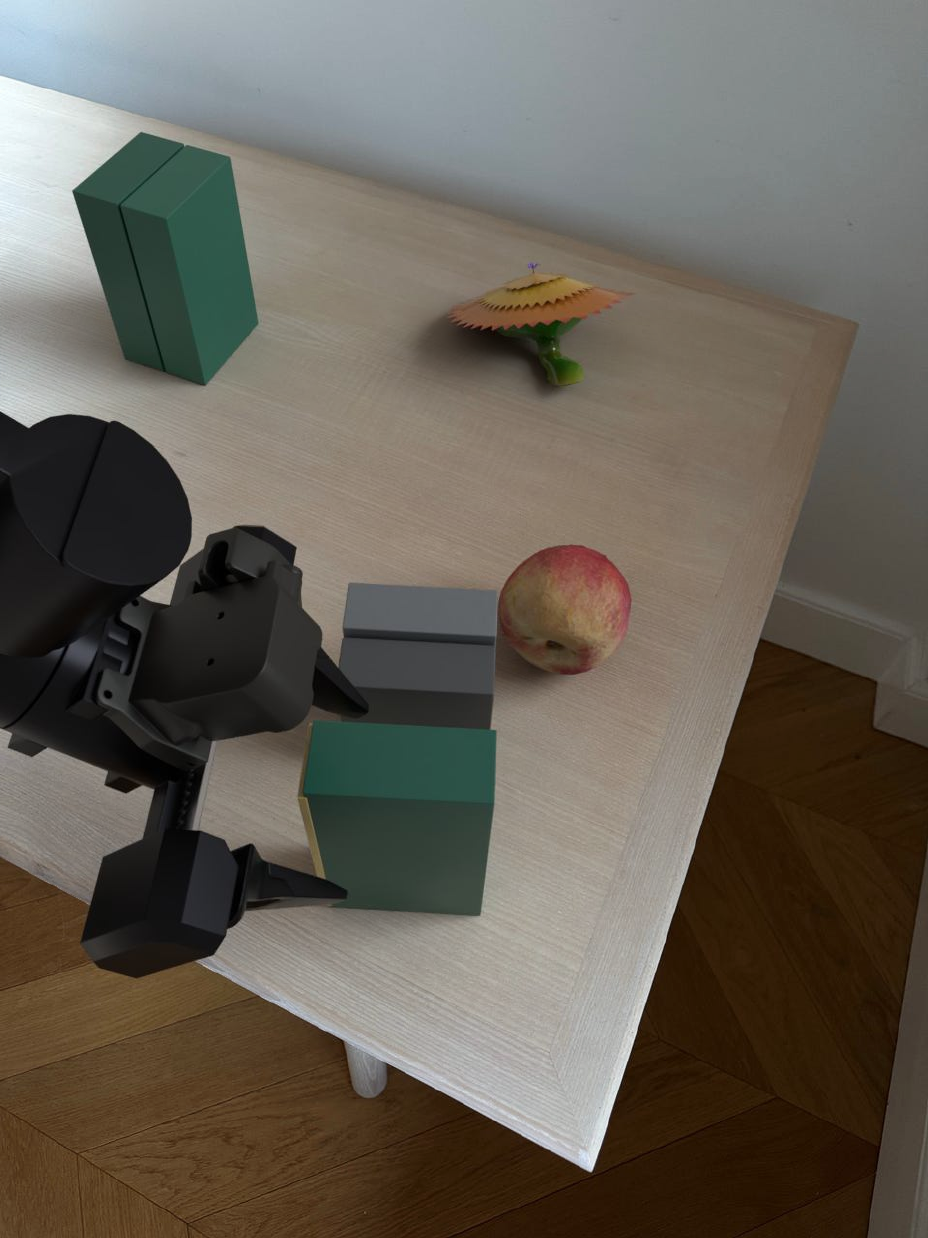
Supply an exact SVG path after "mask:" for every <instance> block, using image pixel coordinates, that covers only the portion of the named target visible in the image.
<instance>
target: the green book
mask: <svg viewBox="0 0 928 1238" xmlns="http://www.w3.org/2000/svg"><path fill="white" fill-rule="evenodd" d="M497 733H498V731H497V729H491V730H485V729H467V728H448V727H430V726H412V725H393V724H375V723H356V722H341V721H339V720H338V721H336V720H319V719H318V720H317V719H314V720H313V721H312V722H310V723H308V726H307V732H306V738H305V745H304V750H303V751H304V752H303V757H302V758H303V759H302V764H301V771H300V778H299V784H298V791H297V797H296V798H297V802H298V806H299V810H300V814H301V818H302V823H303V826H304V830H305V835H306V838H307V842H308V847H309V850H310V854H311V858H312V862H313V866H314V870H315V874H316V876H317V877H320V878H323V879H326V880H329V881H331V882H333V883H335V884H336V885H338V886H340V887H342V888H344V889H346V890H347V891H348V897H347V900H345V901H342V902H339V903H335V904H329V905H324V906H328V907H330V908H333V909H334V908H335V909H338V908H339V909H353V910H354V909H355V910H372V911H388V912H390V911H391V912H406V913H407V912H408V913H424V914H426V913H428V914H443V915H444V914H445V915H461V916H462V915H463V916H481V915H482V909H483V908H482V907H483V899H484V891H485V884H486V874H487V868H488V859H489V852H490V850H489V849H490V843H491V836H492V835H491V834H492V828H493V827H492V826H493V818H494V811H495V810H494V809H495V802H496V801H495V800H496V798H495V797H496V767H497V738H498V737H497V735H498V734H497Z"/></svg>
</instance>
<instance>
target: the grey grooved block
mask: <svg viewBox="0 0 928 1238" xmlns="http://www.w3.org/2000/svg"><path fill="white" fill-rule="evenodd" d="M498 602H499V591H498V590H494V589H474V588H459V587H458V588H457V587H442V586H441V587H438V586H437V587H436V586H421V585H401V584H384V583H364V582H348V585H347V592H346V599H345V606H344V613H343V621H342V634H343V635H342V636H343V638H342V639H341V644H340V652H339V660H338V666H337V667H338V668H339V669H340V670H341V672H342V673H343V674H344V675H345V676H346V678H347V679H348V680H349V681H350V682H351V684H352V685H353V686H354V687H355V688H356V690H357V691H358V692H359V693H360V694H361V696H362V697H363V698H364V699H365V700H366V702H367V703H368V704H369V713H368V714H366V715H364V716H362V717H360V718H358V719H353V718H349V717H345V716H342V715H339V717H340V722H356V723H375V724H393V725H412V726H430V727H448V728H467V729H485V730H492V719H493V712H494V711H493V709H494V700H495V684H496V683H495V681H496V655H497V654H496V653H497V652H496V651H497V648H496V647H497V631H498Z"/></svg>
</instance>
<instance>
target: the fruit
mask: <svg viewBox="0 0 928 1238" xmlns="http://www.w3.org/2000/svg"><path fill="white" fill-rule="evenodd" d="M631 608H632V594H631V589H630V585H629V583H628V581H627V580H626V578H625V577H624V575H623V574H622V573H621V572H620V570H619V568H618V567H617V566H616V565H615V564H614V563H613V561H611V560H610V559H609V558H608V557H607V555H606V554H603V553H601V552H600V551H597V550H595V549H592V548H590V547H587V546H585V545H581V544H573V543H572V544H558V545H555V546H549V547H545V548H543V549H540V550H538V551H537V552H535V553H533V554H531V555H530V556H529V557H527V558H526V559H524V560H523V561H522V562H521V563H520V564H518V566H517V567H516V568H515V569H514V570H513V571H512V573H510V574H509V576H508V577H507V579H506V581H505V582H504V584H503V587H502V588H501V591H500V594H499V596H498V608H497V620H498V622H499V625H500V629H501V631H502V634H503V636H504V638H505V640H506V641H507V642H508V644H509V645H510V646H511V647H512V649H514V650H515V652H517V653H518V654H519V655H520V656H521V657H522V658H523V659H524V660H525V661H526V662H527V663H529V664H530V665H533V666H535V667H536V668H539V669H541V670H545V671H547V672H549V673H551V674H555V675H563V676H575V675H581V674H583V673H587V672H590V671H591V670H594V669H595V668H597V667H599V666H600V665H602V664H604V663H605V662H606V661H608V660H609V659H610V658H612V656H613V655H614V654H615V653H616V651H617V650H618V649H619V647H620V645H621V644H622V642H623V641H624V639H625V638H626V635H627V632H628V628H629V621H630V614H631Z"/></svg>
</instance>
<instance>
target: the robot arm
mask: <svg viewBox="0 0 928 1238" xmlns="http://www.w3.org/2000/svg"><path fill="white" fill-rule="evenodd" d="M190 507H191V506H190V503H189V498H188V496H187V493H186V491H185V489H184V487H183V484H182V482H181V480H180V478H179V476H178V475H177V473H176V472H175V471H174V469H173V467H172V466H171V464H170V463H169V461H168V460H167V459H166V458H165V456H164V455H163V454H162V453H161V452H160V451H159V450H158V449H157V448H156V446H154V445H153V444H152V443H151V442H149V441H148V440H147V439H146V438H145V437H143V435H141V434H139V432H137V431H136V430H134V429H133V428H130V427H129V426H128V425H126V424H124V423H122V422H120V421H118V420H110V421H107V420H104V419H101V418H98V417H95V416H91V415H84V414H74V413H65V414H60V415H52V416H49V417H46V418H44V419H42V420H40V421H38V422H36V423H34V424H32V425H31V426H29V427H28V426H26V424H25V425H24V424H23V423H21V422H20V421H18V420H16V419H14V418H13V417H11V416H9V415H8V414H6V413H5V412H3V411H1V410H0V729H1V730H3V731H5V732H7V733H10V734H11V736H10V738H9V742H8V744H7V749H10V750H12V751H15V752H17V753H20V754H23V755H25V756H27V757H30V758H33V757H35V756H36V755H38V754H40V753H41V752H44V751H45V750H47V749H50V750H53V751H56V752H58V753H61V754H63V755H65V756H67V757H71V758H73V759H75V760H78V761H81V762H83V763H86V764H88V765H91V766H93V767H95V768H97V769H100V770H103V771H105V772H106V773H107V774H106V777H105V779H104V784H103V785H104V787H107V788H110V789H112V790H115V791H117V792H120V793H122V794H125V795H127V794H129V793H131V792H132V791H135V790H136V789H138V788H140V787H142V786H143V787H145V788H149V789H151V790H153V794H152V796H151V802H150V806H149V810H148V815H147V818H146V822H145V826H144V830H143V835H142V838H141V839H139V840H136V841H134V842H132V843H130V844H127V845H125V846H124V847H121V848H118V849H117V850H114V851H112V852H110V853H108V854H105V855H104V856H102V858H101V863H100V867H99V869H98V872H97V877H96V880H95V885H94V888H93V892H92V896H91V900H90V904H89V907H88V911H87V916H86V918H85V922H84V927H83V930H82V934H81V938H80V941H79V945H80V946H81V947H82V949H83V950H84V951H85V954H87V956H88V957H89V959H90V960H91V962H93V964H94V965H95V966H97V968H98V969H99V970H104V971H107V972H111V973H115V974H118V975H122V976H126V977H130V978H133V979H140V978H143V977H146V976H151V975H153V974H156V973H159V972H163V971H166V970H169V969H173V968H177V967H180V966H183V965H186V964H188V963H192V962H196V961H199V960H203V959H206V958H209V957H213V956H214V955H215V954H216V952H217V951H218V949H219V948H220V946H221V945H222V943H223V941H224V940H225V938H226V937H227V932H228V930H229V929H232V928H234V927H235V926H236V925H238V924H239V923H240V921H242V919H243V917H244V916H245V913H246V912H254V911H266V910H267V911H268V910H278V909H289V908H302V907H303V908H304V907H315V906H325V905H329V904H335V903H339V902H342V901H345V900H347V897H348V891H347V890H346V889H344V888H342V887H340V886H338V885H336V884H335V883H333V882H331V881H329V880H326V879H323V878H320V877H317V875H313V874H310V873H306V872H303V871H300V870H297V869H294V868H290V867H286V866H284V865H280V864H277V863H274V862H270V861H268V860H264V859H263V858H262V857H261V855H260V853H259V851H258V849H257V847H256V846H255V844H254V843H252V842H250V843H247V844H245V845H242V846H240V847H237V848H235V849H232V850H231V849H230V847H229V845H228V843H227V841H226V839H224V838H223V837H222V838H221V837H218V836H216V835H213V834H211V833H208V832H206V831H203V830H200V826H201V821H202V816H203V813H204V808H205V803H206V799H207V793H208V788H209V784H210V780H211V779H210V778H211V775H212V770H213V769H212V768H213V764H214V760H215V754H216V750H217V745H218V742H219V741H225V740H230V739H235V738H241V737H246V736H251V735H258V734H262V733H273V734H279V733H285V732H288V731H291V730H293V729H294V728H296V727H298V726H299V725H300V724H302V723H303V722H304V721H305V719H306V718H307V717H308V716H309V714H310V712H311V709H312V708H313V707H315V708H317V709H320V710H322V711H324V712H327V713H331V714H335V715H338V716H340V715H342V716H345V717H349V718H353V719H358V718H360V717H362V716H364V715H366V714H368V713H369V704H368V703H367V702H366V700H365V699H364V698H363V697H362V696H361V694H360V693H359V692H358V691H357V690H356V688H355V687H354V686H353V685H352V684H351V682H350V681H349V680H348V679H347V678H346V676H345V675H344V674H343V673H342V672H341V670H340V669H339V668H338V666H337V664H336V663H335V662H334V661H333V659H332V658H331V657H330V656H329V654H328V653H327V652H326V651H325V649H323V647H322V643H323V630H322V628H321V626H320V625H319V624H318V623H317V622H316V621H315V619H313V618H312V617H311V615H310V614H309V613H308V612H307V611H306V610H305V609H304V608H303V601H302V588H303V575H304V572H303V570H302V569H301V568H300V567H298V566H296V565H294V564H295V559H296V555H297V554H296V553H297V549H298V547H297V546H296V545H294V544H293V543H292V542H291V541H289V540H287V539H285V538H284V537H282V536H281V535H279V534H277V533H276V532H275V531H273V530H271V529H270V528H268V527H266V526H264V525H258V524H238V525H234V526H233V527H231V528H228V529H224V530H220V531H217V532H213V533H209V534H208V535H207V536H206V537H205V541H204V545H203V548H201V550H199V551H198V552H196V553H195V554H194V555H192V556H191V557H189V558H188V559H187V560H185V561H184V562H183V560H184V559H185V557H186V555H187V553H188V551H189V548H190V547H191V546H190V545H191V542H192V537H193V536H192V535H193V517H192V512H191V511H192V510H191V508H190ZM182 562H183V563H182ZM176 569H178V571H177V575H176V579H175V583H174V586H173V590H172V594H171V598H170V602H169V604H167V603H163V602H158V601H157V602H156V601H152V600H150V599H147V598H146V597H144V596H142V595H144V594H145V593H146V592H147V591H148V590H150V589H151V588H153V587H154V586H156V585H157V584H158V583H160V582H161V581H162V580H164V579H165V578H167V577H168V576H169V575H170V574H171V573H173V572H174V570H176Z"/></svg>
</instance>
